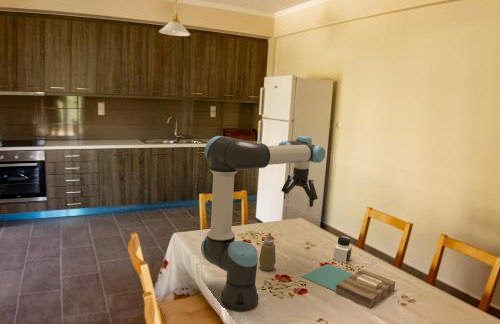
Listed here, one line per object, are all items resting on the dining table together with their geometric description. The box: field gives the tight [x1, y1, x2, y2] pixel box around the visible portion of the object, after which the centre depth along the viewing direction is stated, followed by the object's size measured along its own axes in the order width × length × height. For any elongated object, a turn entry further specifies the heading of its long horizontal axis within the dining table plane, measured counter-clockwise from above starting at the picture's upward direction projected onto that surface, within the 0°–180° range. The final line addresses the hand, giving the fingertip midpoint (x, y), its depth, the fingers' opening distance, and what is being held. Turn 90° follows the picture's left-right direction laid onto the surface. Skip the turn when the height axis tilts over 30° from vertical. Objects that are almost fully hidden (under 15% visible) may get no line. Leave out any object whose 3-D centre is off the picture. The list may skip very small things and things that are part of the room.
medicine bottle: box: [332, 236, 352, 264], centre depth 203 cm, size 7×7×12 cm
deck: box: [335, 268, 396, 309], centre depth 170 cm, size 24×16×4 cm, turn 137°
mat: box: [301, 263, 355, 293], centre depth 182 cm, size 22×18×1 cm
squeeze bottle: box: [258, 232, 277, 272], centre depth 186 cm, size 8×8×18 cm
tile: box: [356, 274, 382, 290], centre depth 169 cm, size 6×9×2 cm, turn 47°
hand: (297, 209), depth 193 cm, fingers open, 13 cm apart
